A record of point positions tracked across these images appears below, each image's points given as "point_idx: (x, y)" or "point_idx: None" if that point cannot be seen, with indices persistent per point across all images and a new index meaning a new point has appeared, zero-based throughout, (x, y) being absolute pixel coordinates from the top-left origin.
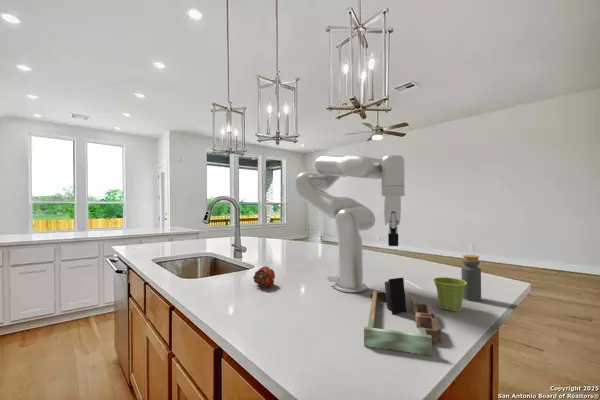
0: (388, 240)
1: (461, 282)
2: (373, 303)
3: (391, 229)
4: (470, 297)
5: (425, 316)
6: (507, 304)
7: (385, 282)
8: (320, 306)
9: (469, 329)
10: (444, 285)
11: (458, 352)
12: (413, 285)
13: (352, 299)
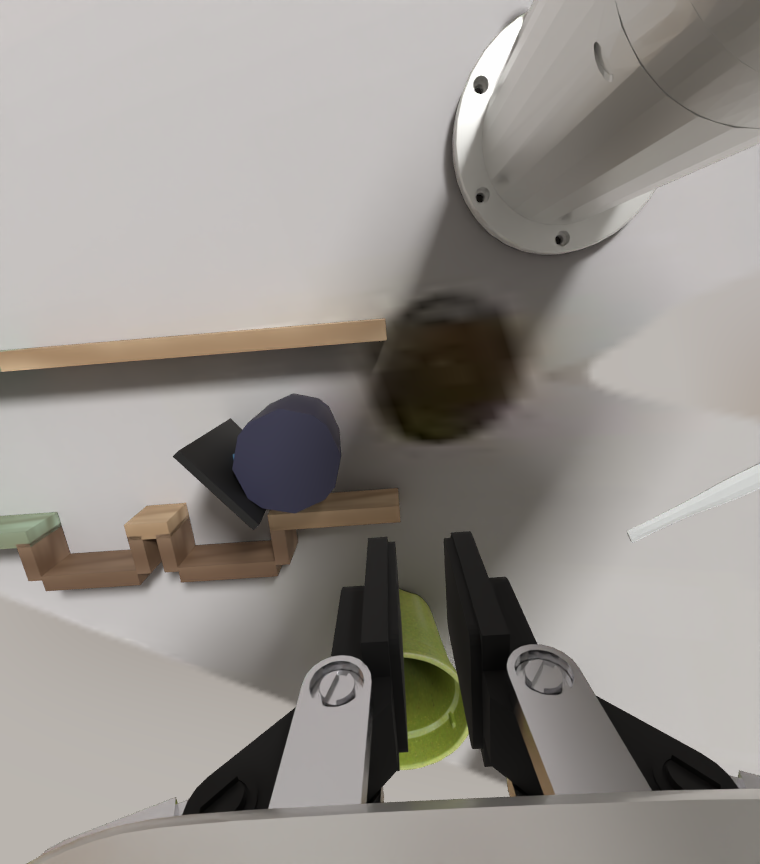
0: (366, 573)
1: (432, 747)
2: (180, 347)
3: (199, 796)
4: None
5: (139, 553)
6: None
7: (266, 415)
8: (160, 42)
9: (217, 646)
10: None
11: (40, 600)
12: (691, 499)
13: (346, 204)
